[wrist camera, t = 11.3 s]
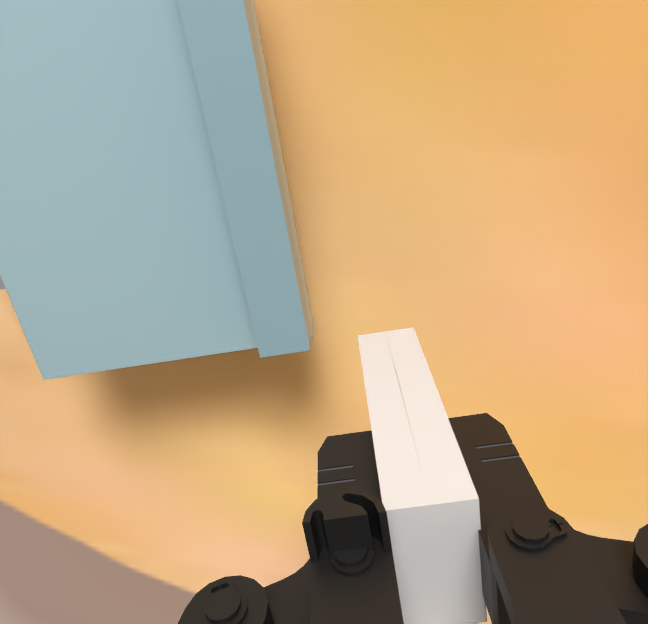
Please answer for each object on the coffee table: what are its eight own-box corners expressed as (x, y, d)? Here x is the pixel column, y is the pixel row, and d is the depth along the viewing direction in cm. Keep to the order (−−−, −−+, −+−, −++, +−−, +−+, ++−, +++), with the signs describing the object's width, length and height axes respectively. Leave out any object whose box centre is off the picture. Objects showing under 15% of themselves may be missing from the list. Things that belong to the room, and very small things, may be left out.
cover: (77, 326, 30) (-3, 408, 22) (-74, -83, 23) (-264, -162, 15) (313, 289, 29) (312, 361, 22) (235, -144, 22) (194, -257, 15)
